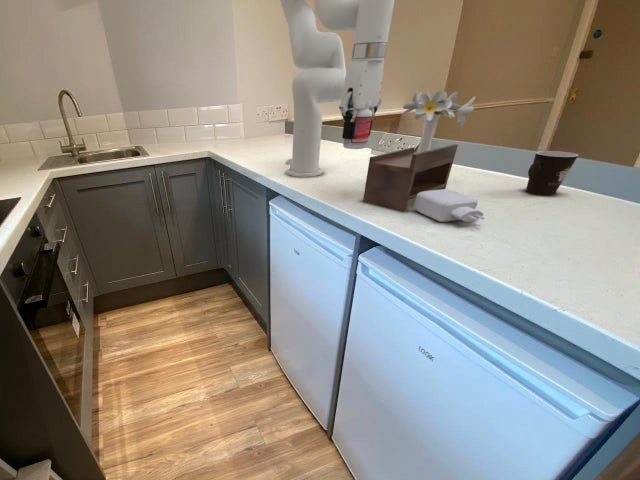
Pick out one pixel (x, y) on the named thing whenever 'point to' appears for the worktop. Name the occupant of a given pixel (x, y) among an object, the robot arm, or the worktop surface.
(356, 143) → the pill bottle
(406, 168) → the box
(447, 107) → the flower vase
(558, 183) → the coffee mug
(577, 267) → the worktop surface
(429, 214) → the charger
